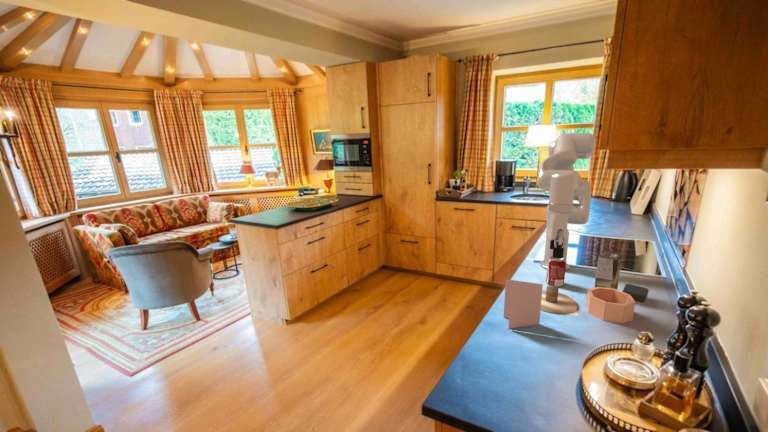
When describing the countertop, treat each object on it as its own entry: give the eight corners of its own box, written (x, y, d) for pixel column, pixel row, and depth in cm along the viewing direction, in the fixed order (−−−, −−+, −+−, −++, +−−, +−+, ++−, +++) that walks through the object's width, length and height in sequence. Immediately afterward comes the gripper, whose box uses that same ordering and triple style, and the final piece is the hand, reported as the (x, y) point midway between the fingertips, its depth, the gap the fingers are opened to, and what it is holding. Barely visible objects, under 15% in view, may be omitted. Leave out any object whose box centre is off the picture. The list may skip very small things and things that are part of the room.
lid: (526, 289, 136) (527, 276, 134) (573, 295, 130) (574, 282, 128) (527, 309, 120) (528, 295, 119) (580, 317, 114) (582, 302, 113)
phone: (648, 288, 134) (644, 301, 123) (648, 290, 134) (643, 303, 123) (626, 283, 139) (620, 295, 128) (625, 285, 139) (619, 297, 128)
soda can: (566, 288, 136) (568, 261, 134) (548, 287, 138) (550, 261, 135) (560, 282, 143) (563, 256, 140) (544, 281, 144) (546, 255, 141)
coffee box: (612, 299, 127) (617, 260, 123) (593, 294, 131) (597, 256, 127) (617, 291, 133) (622, 253, 129) (599, 286, 137) (603, 250, 134)
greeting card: (539, 323, 112) (542, 283, 108) (539, 335, 105) (543, 292, 102) (503, 317, 116) (505, 278, 113) (501, 328, 110) (504, 287, 106)
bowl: (583, 302, 125) (585, 285, 123) (624, 307, 120) (626, 290, 119) (590, 319, 113) (592, 301, 112) (636, 326, 108) (639, 307, 107)
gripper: (546, 202, 126) (542, 245, 129) (550, 212, 110) (546, 260, 114) (568, 203, 123) (564, 247, 127) (576, 213, 107) (571, 262, 111)
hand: (556, 253), depth 120 cm, fingers open, 9 cm apart
